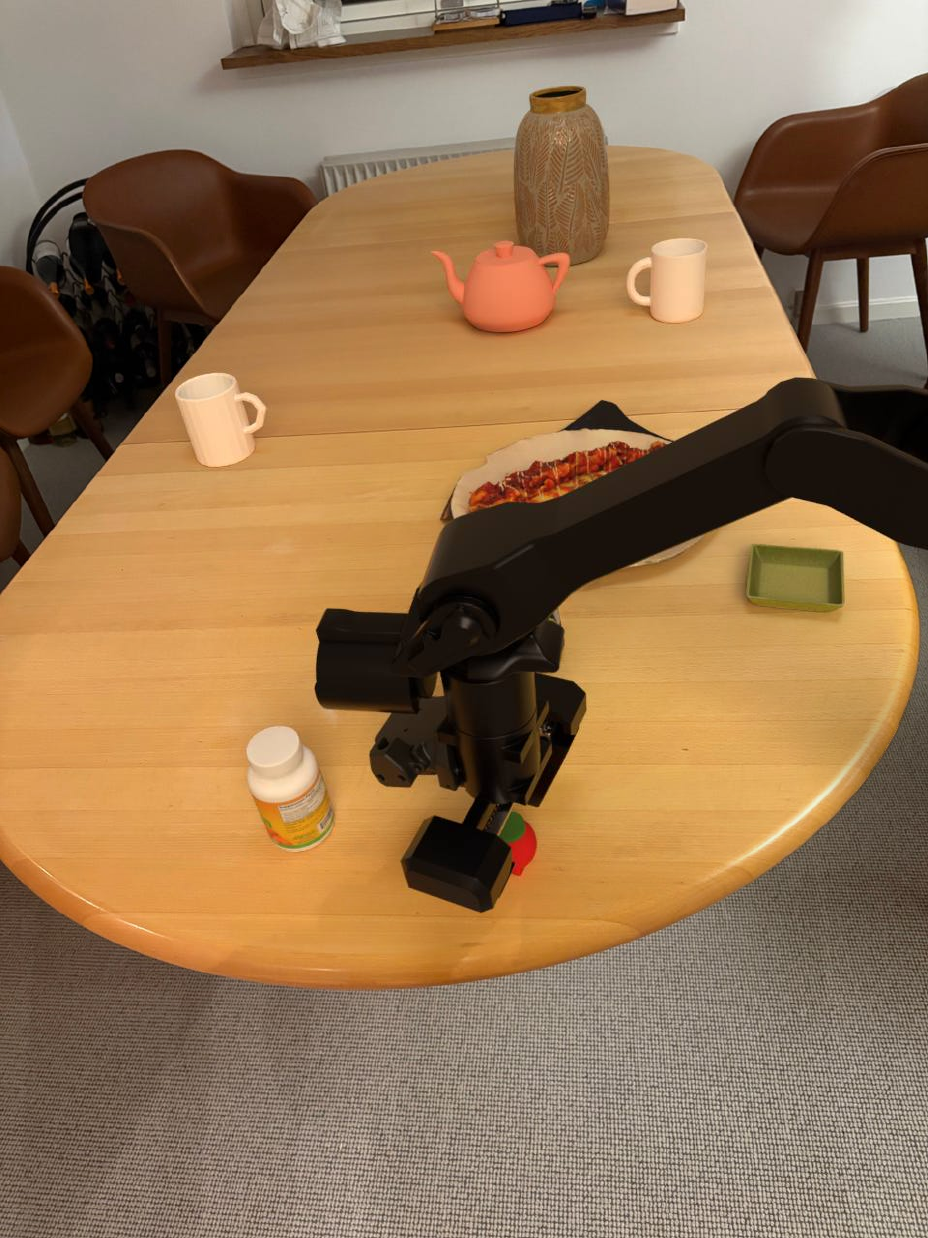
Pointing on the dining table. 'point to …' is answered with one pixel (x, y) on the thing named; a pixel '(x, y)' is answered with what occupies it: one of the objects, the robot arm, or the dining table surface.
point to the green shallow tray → (796, 578)
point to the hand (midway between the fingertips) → (511, 850)
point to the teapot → (506, 287)
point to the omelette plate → (559, 465)
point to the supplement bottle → (288, 789)
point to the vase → (561, 176)
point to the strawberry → (519, 841)
